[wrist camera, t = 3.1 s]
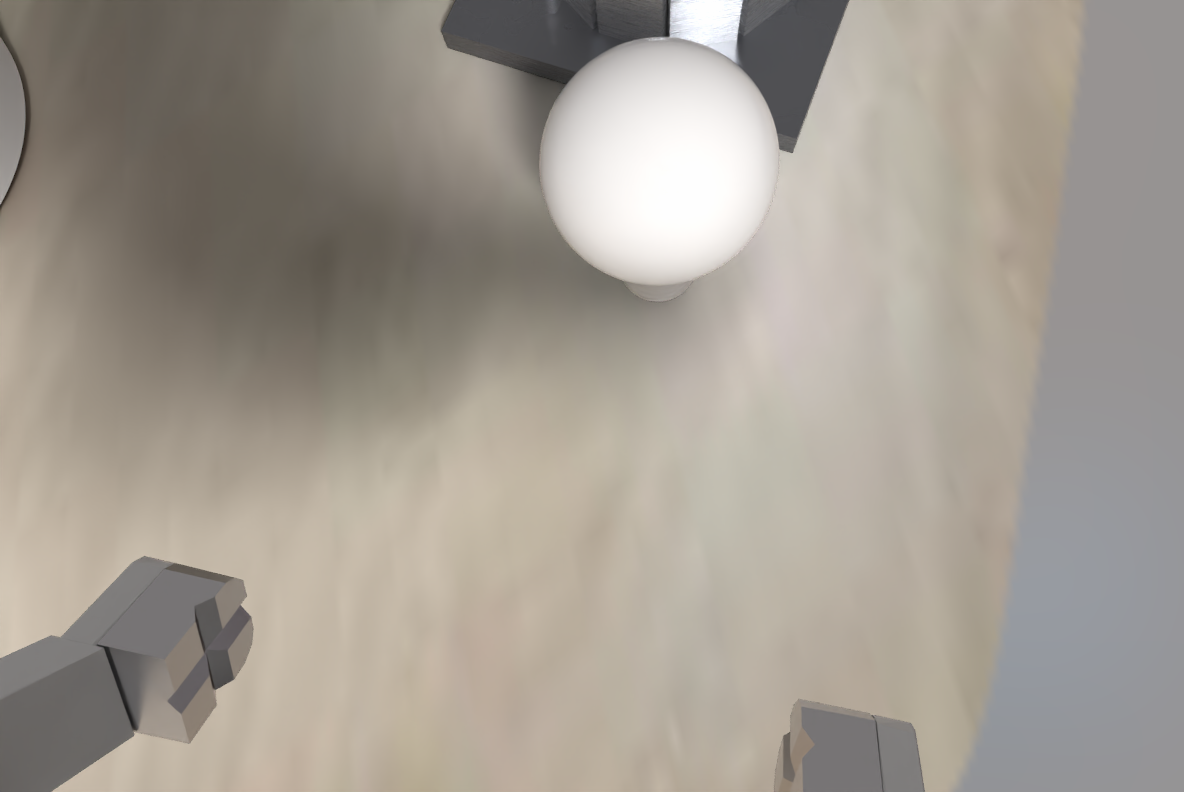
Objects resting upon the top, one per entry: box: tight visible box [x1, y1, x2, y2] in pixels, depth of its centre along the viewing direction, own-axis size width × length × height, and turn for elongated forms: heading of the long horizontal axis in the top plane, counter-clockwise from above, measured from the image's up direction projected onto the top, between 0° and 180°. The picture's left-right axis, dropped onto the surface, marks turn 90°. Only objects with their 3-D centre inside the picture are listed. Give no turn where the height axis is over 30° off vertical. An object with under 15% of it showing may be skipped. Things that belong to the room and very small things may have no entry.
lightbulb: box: [539, 37, 780, 302], centre depth 25 cm, size 6×6×11 cm
